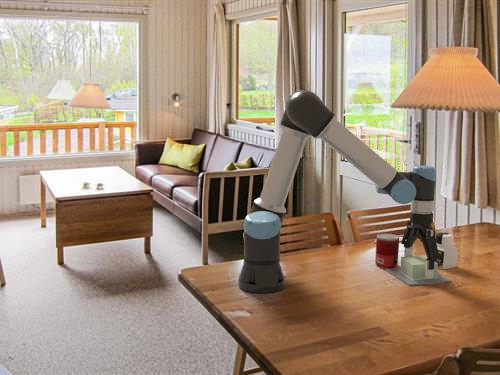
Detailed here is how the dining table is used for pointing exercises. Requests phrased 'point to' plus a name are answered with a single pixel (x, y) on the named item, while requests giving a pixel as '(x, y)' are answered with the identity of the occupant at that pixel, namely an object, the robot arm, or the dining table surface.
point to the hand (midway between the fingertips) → (417, 271)
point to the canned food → (387, 250)
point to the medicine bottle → (446, 251)
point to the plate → (411, 282)
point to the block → (416, 267)
